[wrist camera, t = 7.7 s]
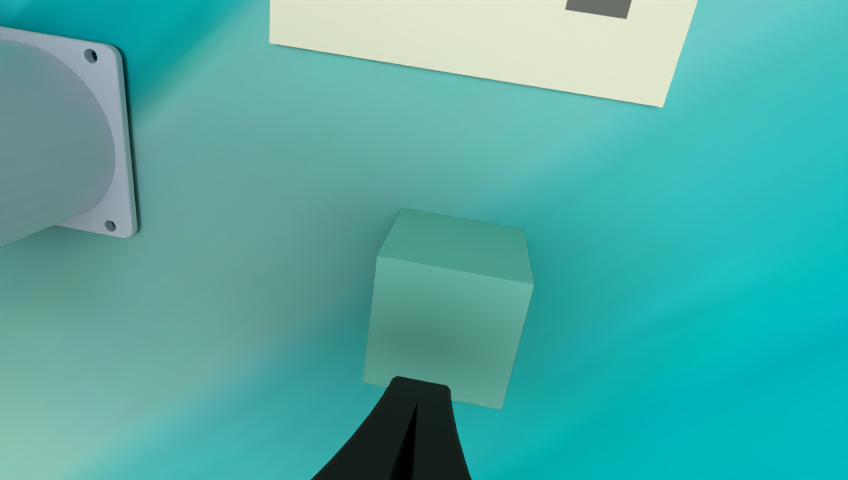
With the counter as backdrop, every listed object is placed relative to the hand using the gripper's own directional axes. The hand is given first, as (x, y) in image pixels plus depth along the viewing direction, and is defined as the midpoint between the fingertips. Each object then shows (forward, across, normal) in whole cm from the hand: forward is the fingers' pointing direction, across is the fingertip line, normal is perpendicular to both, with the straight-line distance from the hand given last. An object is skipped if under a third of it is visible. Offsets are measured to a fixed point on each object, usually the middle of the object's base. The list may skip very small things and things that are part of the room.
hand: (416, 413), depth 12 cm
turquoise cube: (+10, 0, +1) cm, 10 cm away
